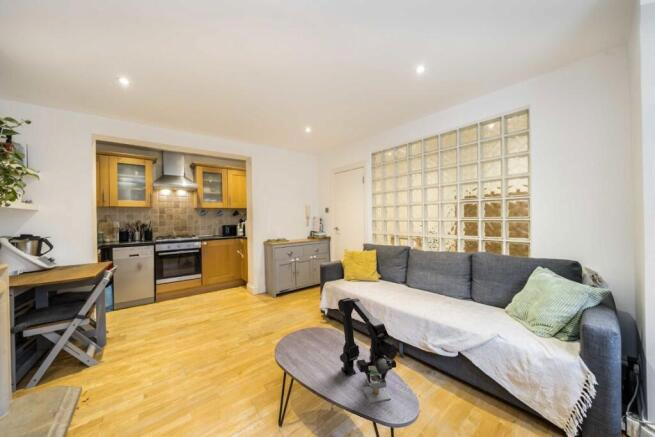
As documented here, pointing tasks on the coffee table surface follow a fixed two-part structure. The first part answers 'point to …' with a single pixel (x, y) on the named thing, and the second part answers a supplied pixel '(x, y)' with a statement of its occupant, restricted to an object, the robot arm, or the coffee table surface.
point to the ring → (376, 384)
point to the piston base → (375, 394)
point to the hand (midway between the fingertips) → (376, 381)
